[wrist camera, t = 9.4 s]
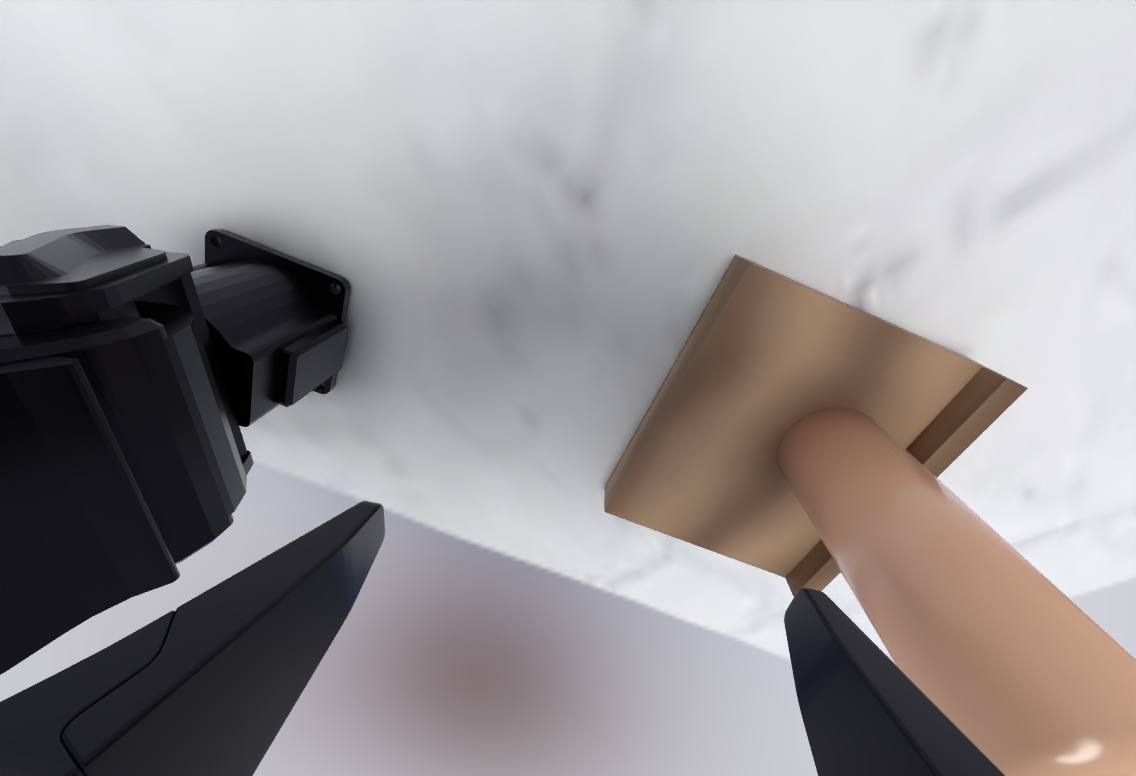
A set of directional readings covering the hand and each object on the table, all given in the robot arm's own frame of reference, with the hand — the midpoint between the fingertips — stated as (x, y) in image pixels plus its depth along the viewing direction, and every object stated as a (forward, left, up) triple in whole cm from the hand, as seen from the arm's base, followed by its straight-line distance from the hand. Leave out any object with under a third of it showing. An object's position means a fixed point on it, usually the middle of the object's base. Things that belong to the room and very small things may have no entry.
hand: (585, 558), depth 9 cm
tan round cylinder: (+12, 0, -11) cm, 16 cm away
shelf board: (+10, -1, -13) cm, 17 cm away
